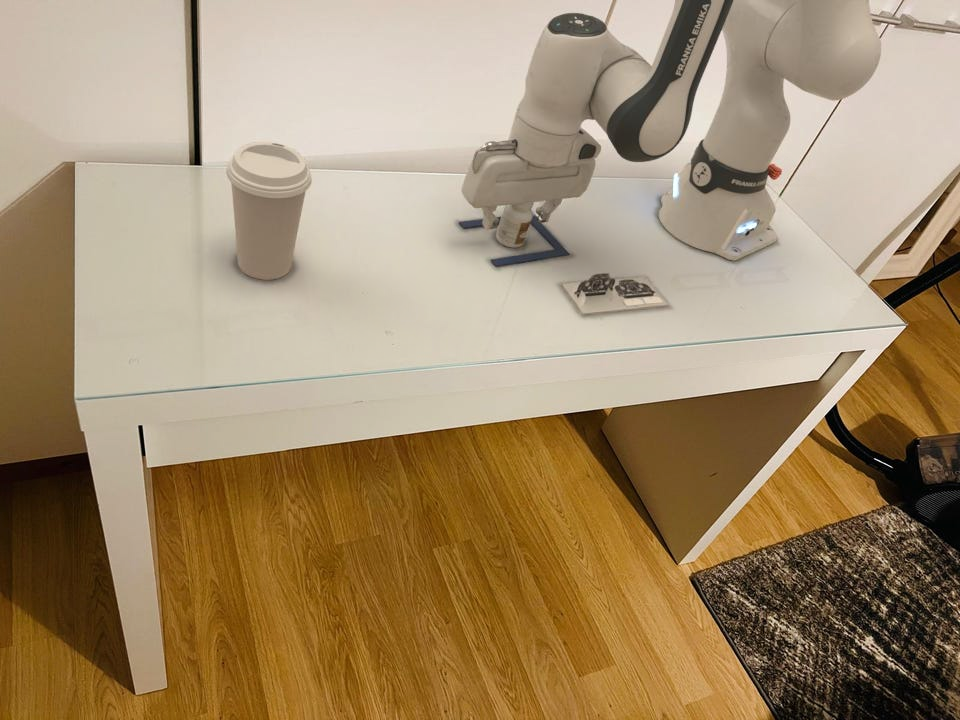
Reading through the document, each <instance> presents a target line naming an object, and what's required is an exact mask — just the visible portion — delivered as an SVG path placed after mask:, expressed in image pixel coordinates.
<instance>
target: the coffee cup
mask: <svg viewBox="0 0 960 720" xmlns="http://www.w3.org/2000/svg"><path fill="white" fill-rule="evenodd" d="M225 173H226V177H227V179H228V180H229V182H230V184H231V194H232V195H231V196H232V204H233V205H232V206H233V207H232V208H233V217H234V231H235V245H236V255H237V265H238V268H239V270H241V272H242V273H244V274H245V275H246V276H248V277H250V278H253V279H256V280H262V281H272V280H278V279H280V278H283V277H285V276H286V275H288V274H289V272H290V271H291V268H292V263H293V258H294V253H295V248H296V244H297V243H296V242H297V237H298V232H299V228H300V221H301V216H302V211H303V207H304V202H305V197H306V192H307V190H309V188H310V187H311V186H312V181H313V180H312V174H311V171H310V168H309V166H308V164H307V162H306V159H305V157H304V156H303V155H302V154H301V153H300V152H299V151H297V150H296V149H294V148H292V147H290V146H288V145H285V144H281V143H278V142H273V141H272V142H271V141H255V142H249V143H246V144H245V143H244V144H243V145H241V146H239V147H238V148H237V149H236V150H235V152H234V155H233V156H232V157H231V158H230V159H229V161H228V163H227V166H226V169H225Z"/></svg>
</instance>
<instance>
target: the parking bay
mask: <svg viewBox="0 0 960 720" xmlns="http://www.w3.org/2000/svg"><path fill="white" fill-rule="evenodd" d="M534 215H535V214H533V217H532V220H531V223H530V225H532V226H533V227H534V229H536V231H537V232H538V233H539V234H540V235H541V236H542V237H543V239H545V240H546V241H547V243H548V244H550V246H551V247H552V248H553V249H549V250H543V251H542V250H541V251H536V252H529V253H523V254H517V255H509V256H503V257H497V258H491V259H490V262H491V263H492V265H493V266H494V267H495V268H499V267H504V266H511V265H512V266H513V265H518V264H523V263H531V262H536V261H542V260H549V259H555V258H561V257H567V256H570V252H569V251H568V249H566V248H565V247H564V246H563V245H562V244H561V242H560V241H558V239H557V238H556V237H555V236H554V235H553V234H552V233H551V232H550V231H549V230H548V229H547V228H546V227H545V225H544V224H543V223H538V221H537V220H535V218H534ZM496 217H497V218H498V219H499V221H498V224H497V226H499V223H500V220H501V216H496ZM482 221H483V218H477V219H471V220H462V221H461V220H460V221H459V222H458V224H459V225H460V227H462V229H463V230H467V229H474V228H482V227H484V226H483V224H482Z"/></svg>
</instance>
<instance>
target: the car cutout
mask: <svg viewBox="0 0 960 720" xmlns="http://www.w3.org/2000/svg"><path fill="white" fill-rule="evenodd" d="M560 287H561V289H562V290H563V291H564V293H565V294H566V295H567V297H568V298H569V300H570V301H571V303H572V304H573V305H574V307H575V308H576V309H577V311H578V313H579V314H580V315H581V316H582V317H586V316H587V317H588V316H597V315H606V314H615V313H625V312H635V311H643V310H644V311H645V310H653V309H662V308H663V309H664V308H668V307H669V303H668V301H666V300H665V299H664V297H663V296H662V294H660V293H659V291H658V290H657V289H656V287H655V286H654V285H653V284H652V283H651V282H650V281H649V279H648V278H647V277H646V276H635V277H622V278H614V277H611V274H610V273H609V272H599V273H595V274H592V275H591V276H590V277H589V278H588V279H585V280H583V281H574V282H561V283H560Z"/></svg>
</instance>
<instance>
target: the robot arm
mask: <svg viewBox="0 0 960 720" xmlns="http://www.w3.org/2000/svg"><path fill="white" fill-rule="evenodd" d="M870 7H871V6H870V0H674V5H673V10H672V13H671V16H670V18H669V21H668V23H667V25H666V29H665V32H664V34H663V36H662V39H661V41H660V44H659V47H658V50H657V52H656V53H655V57H654V60H653V63H652V65H651V64H650V63H649V62H648V61H647V60H646V58H645V57H643V56H642V55H641V54H640V53H638V52H637V51H636V50H635V49H633V48H631V47H630V46H627V45H625V44H623V43H622V42H620V40H618V39H617V38H616V37H615V36H614V35H613V34H612V33H611V31H610V30H609V29H608V27H607V25H606V23H605V22H604V21H603V20H601V19H599V18H597V17H596V16H593V15H589V14H585V13H580V12H567V13H561V14H559V15H557V16H554V17H553V18H552V19H550V20H549V22H547V24H546V25H545V27H544V28H543V30H542V32H541V34H540V36H539V38H538V40H537V42H536V45H535V48H534V50H533V53H532V57H531V59H530V63H529V65H528V69H527V73H526V76H525V83H524V85H525V86H524V87H525V88H524V90H525V91H524V93H523V97H522V99H521V100H520V102H519V103H518V104H517V107H516V111H515V114H514V117H513V120H512V121H513V122H512V124H511V129H510V132H509V136H508V140H501V141H495V140H494V141H493V140H491V141H487V142H485V143H484V145H482V146H480V147H479V148H478V149H476V150H475V151H474V154H473V157H472V160H471V162H470V164H469V166H468V168H467V171H466V174H465V176H464V180H463V182H462V186H461V194H462V196H463V198H464V199H465V200H466V202H467V203H468V204H469V205H470V206H471V207H472V208H474V209H481V210H482V213H483V218H482V219H483V221H482V224H483V226H482V227H483V228H484V229H485V230H486V231H489V230H495V229H498V225H499V224H498V221H499V219H498V218H497V217H498V216H496V215H495V213H493V212H495V211H497V208H498V207H502V206H505V205H512V204H521V203H529V202H534V203H537V202H543V204H542V206H540V207H536V210H535V213H534V214H533V215H534V218H535V220H537V221H538V223H541V224H543V223H548V222H549V221H550V218H551V215H552V214H553V213H554V212H555V211H556V210H557V208H558V207H559V206H560V205H562V200H565V199H566V200H567V199H574V198H580V197H581V196H582V195H584V193H586V191H587V190H588V188H589V186H590V183H591V180H592V178H593V175H594V171H595V168H596V159H597V158H598V157H599V155H600V153H601V151H602V145H601V143H599V142H598V141H597V140H596V139H595V138H594V137H593V136H592V135H591V134H590V133H589V132H588V131H586V130H585V129H584V128H582V124H583V122H584V121H586V120H590V121H595V122H596V123H597V125H598V126H599V127H600V128H601V129H602V130H603V132H604V133H605V134H606V135H607V138H608V140H609V141H610V143H611V145H612V146H613V148H614V150H615V152H616V153H617V154H618V155H619V156H620V158H622V159H624V160H625V161H628V162H633V163H646V162H652V161H656V160H658V159H661V158H663V157H665V156H666V155H668V154H669V153H671V152H672V151H673V150H674V149H675V148H677V146H678V145H679V144H680V143H681V141H682V140H683V138H684V136H685V134H686V132H687V130H688V128H689V125H690V123H691V117H692V113H693V107H694V103H695V98H696V94H697V91H698V90H699V87H700V86H699V85H700V84H701V81H702V78H703V75H704V74H705V71H706V68H707V66H708V64H709V61H710V60H711V57H712V54H713V52H714V50H715V47H716V45H717V42H718V40H719V37H720V35H721V33H722V35H723V39H724V41H725V51H726V70H725V79H724V80H725V81H724V86H723V91H722V94H721V98H720V101H719V104H718V106H717V109H716V111H715V114H714V116H713V118H712V121H711V123H710V125H709V128H708V130H707V132H706V133H705V136H704V138H702V139H701V140H700V141H699V143H698V145H697V146H696V148H695V150H694V151H693V155H692V158H691V159H690V162H687V163H686V164H685V165H684V166H683V168H682V170H681V171H680V173H679V175H678V173H675V174H674V175H673V186H672V187H671V189H670V191H669V192H668V193H664V194H663V195H662V196H661V199H660V203H661V208H660V209H659V211H658V220H659V221H660V223H661V225H662V226H663V228H664V229H666V231H667V232H668V233H670V234H671V235H672V236H673V237H675V238H676V239H677V240H679V241H681V242H682V243H685V244H686V245H689V246H691V247H693V248H696V249H699V250H702V251H705V252H709V253H713V254H716V255H718V256H720V257H723V258H725V259H727V260H730V261H738V260H740V259H742V258H745V257H746V256H748V255H751V254H753V253H756V252H757V251H760V250H762V249H764V248H766V247H768V246H771V245H773V244H775V243H776V242H777V239H778V235H777V233H776V231H775V230H774V228H773V227H772V226H771V225H770V224H771V222H772V220H773V218H774V216H775V213H776V205H775V202H774V200H773V199H772V197H771V195H770V194H769V192H768V189H767V188H766V185H767V181H768V177H769V178H770V179H771V180H772V181H775V180H777V179H778V178H780V177H781V175H782V173H783V169H782V168H780V167H778V166H776V164H775V163H772V161H773V159H774V157H775V155H776V154H777V152H778V150H779V148H780V147H781V145H782V143H783V141H784V140H785V138H786V136H787V134H788V132H789V130H790V126H791V113H790V109H789V106H788V104H787V101H786V99H785V98H786V97H785V94H784V93H785V92H784V91H785V90H784V83H785V82H784V81H785V80H786V81H787V82H789V83H790V84H792V85H793V86H795V87H796V88H798V89H800V90H802V91H803V92H805V93H808V94H811V95H813V96H816V97H819V98H822V99H826V100H829V101H841V100H843V99H846V98H848V97H851V96H852V95H854V94H855V93H857V92H858V91H860V90H861V89H862V88H864V87H865V86H866V84H868V82H869V81H870V80H871V79H872V77H873V75H874V74H875V72H876V70H877V69H878V66H879V63H880V60H881V56H882V55H881V54H882V42H881V38H880V36H879V33H878V31H877V30H876V27H875V24H874V21H873V18H872V14H871V8H870ZM497 224H498V225H497Z"/></svg>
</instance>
